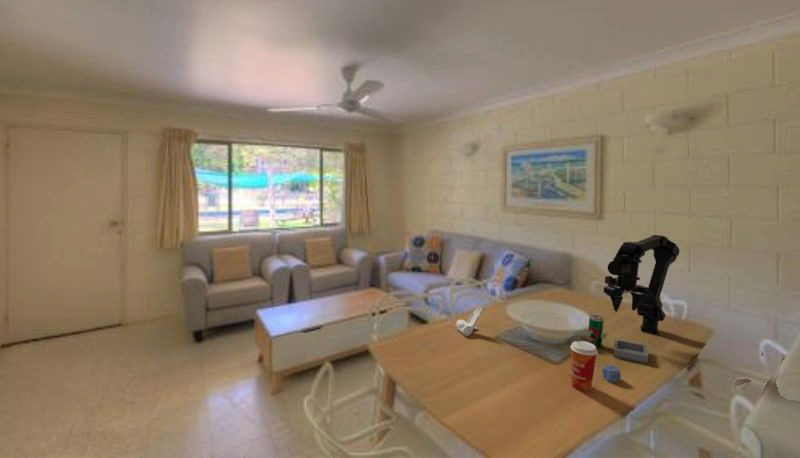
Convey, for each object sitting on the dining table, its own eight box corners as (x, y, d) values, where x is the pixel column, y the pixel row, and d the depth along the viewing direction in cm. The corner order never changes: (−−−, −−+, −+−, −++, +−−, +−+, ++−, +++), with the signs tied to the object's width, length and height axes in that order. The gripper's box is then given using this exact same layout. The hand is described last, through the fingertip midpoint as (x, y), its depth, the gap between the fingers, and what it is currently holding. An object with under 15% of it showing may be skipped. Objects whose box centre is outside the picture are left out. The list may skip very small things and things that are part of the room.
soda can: (603, 348, 140) (605, 319, 139) (589, 347, 141) (591, 318, 140) (599, 342, 145) (601, 314, 143) (585, 341, 146) (587, 313, 144)
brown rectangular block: (583, 343, 144) (584, 334, 144) (594, 349, 140) (595, 339, 139) (580, 344, 143) (580, 335, 143) (591, 350, 139) (591, 340, 138)
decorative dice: (601, 376, 121) (602, 365, 120) (612, 375, 121) (613, 364, 120) (608, 382, 117) (609, 371, 116) (620, 382, 117) (621, 370, 116)
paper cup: (563, 380, 118) (565, 340, 116) (585, 379, 119) (588, 339, 117) (576, 394, 110) (579, 351, 108) (600, 393, 111) (603, 350, 109)
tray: (614, 345, 142) (614, 338, 142) (645, 352, 137) (646, 344, 137) (613, 356, 134) (614, 349, 133) (647, 364, 128) (648, 356, 128)
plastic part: (455, 329, 159) (455, 304, 157) (475, 326, 162) (475, 302, 160) (463, 336, 152) (463, 310, 150) (483, 333, 155) (484, 307, 153)
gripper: (629, 268, 155) (625, 303, 156) (594, 269, 150) (590, 305, 151) (654, 275, 144) (649, 312, 146) (617, 275, 139) (612, 314, 141)
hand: (624, 310), depth 146 cm, fingers open, 9 cm apart
